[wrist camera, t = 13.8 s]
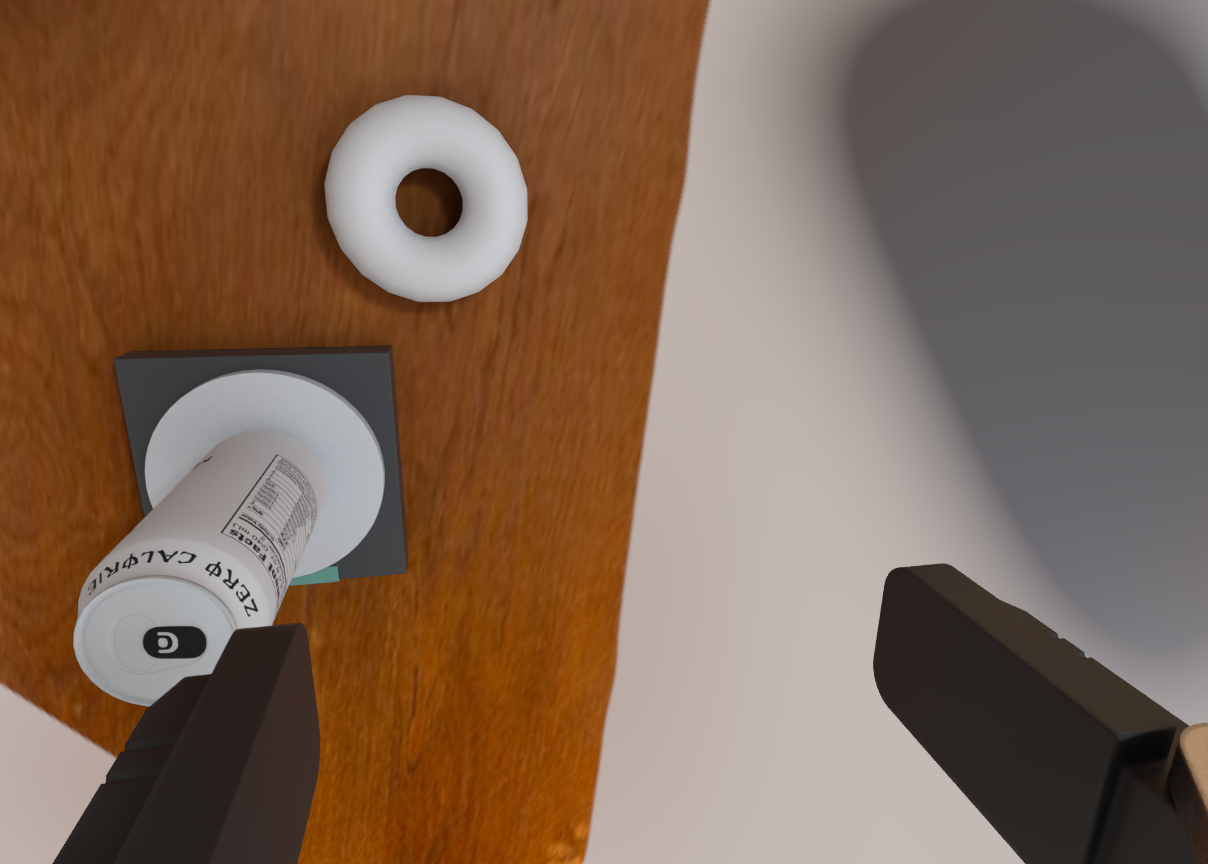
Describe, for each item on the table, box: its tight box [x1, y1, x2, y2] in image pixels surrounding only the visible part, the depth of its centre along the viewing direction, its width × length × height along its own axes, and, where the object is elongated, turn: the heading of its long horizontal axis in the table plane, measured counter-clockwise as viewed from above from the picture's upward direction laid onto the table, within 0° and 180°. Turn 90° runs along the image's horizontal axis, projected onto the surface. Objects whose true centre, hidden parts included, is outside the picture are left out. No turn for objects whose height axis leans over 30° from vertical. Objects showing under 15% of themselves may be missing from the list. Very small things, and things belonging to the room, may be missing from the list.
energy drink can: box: [73, 430, 327, 706], centre depth 30 cm, size 6×6×15 cm
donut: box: [324, 95, 528, 302], centre depth 36 cm, size 10×3×10 cm
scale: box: [114, 346, 408, 586], centre depth 38 cm, size 13×13×3 cm
